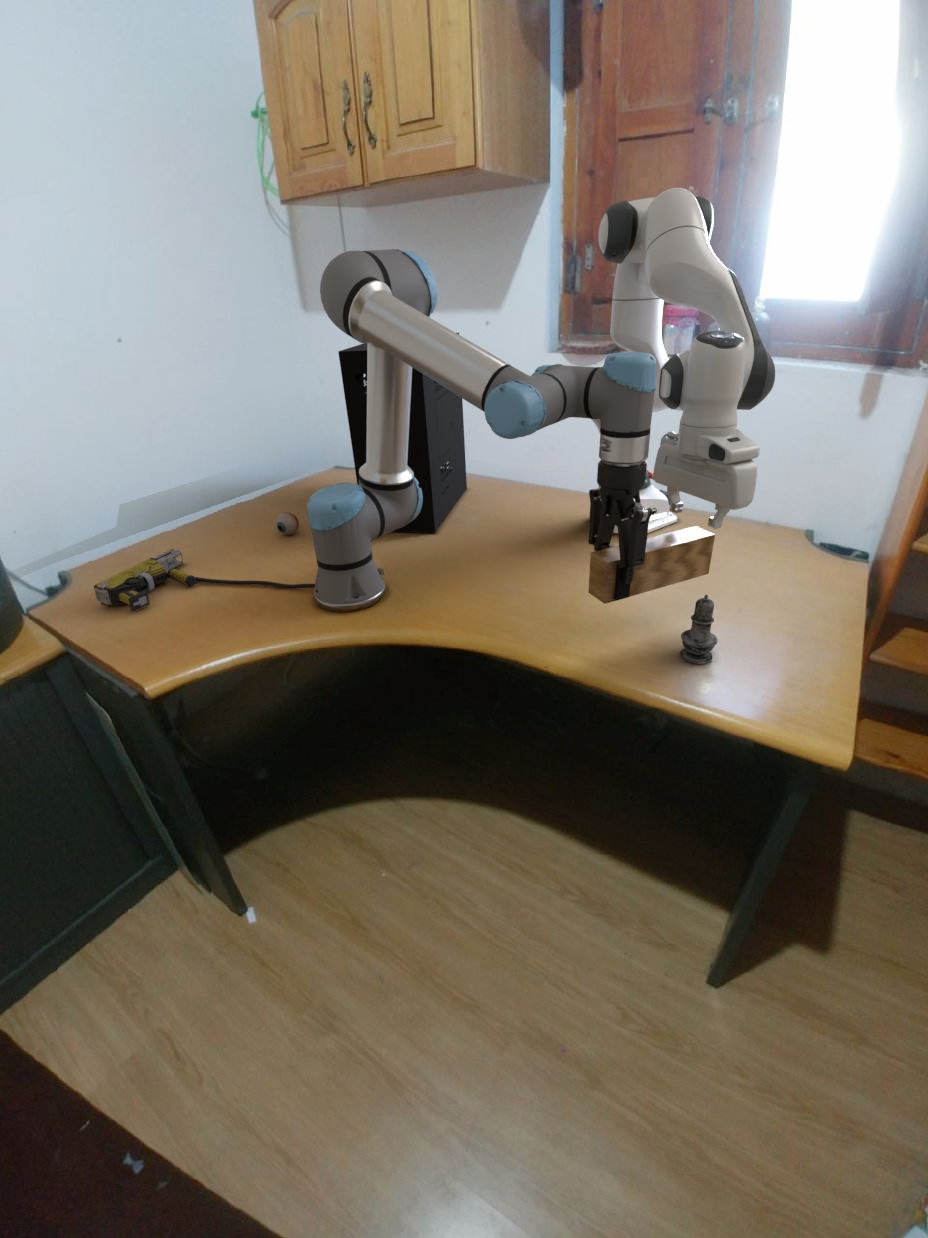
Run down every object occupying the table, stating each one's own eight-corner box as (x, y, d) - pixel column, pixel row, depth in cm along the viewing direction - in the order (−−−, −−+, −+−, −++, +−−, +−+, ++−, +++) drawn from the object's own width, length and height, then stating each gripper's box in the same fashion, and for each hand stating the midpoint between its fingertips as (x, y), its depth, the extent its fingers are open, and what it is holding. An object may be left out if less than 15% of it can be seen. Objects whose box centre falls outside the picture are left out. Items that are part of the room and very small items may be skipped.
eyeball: (273, 537, 164) (268, 516, 161) (287, 528, 169) (282, 508, 166) (291, 539, 161) (286, 518, 158) (305, 530, 166) (301, 510, 163)
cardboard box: (435, 533, 160) (420, 348, 138) (363, 530, 165) (338, 351, 142) (466, 488, 192) (459, 332, 169) (406, 486, 196) (390, 334, 174)
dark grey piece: (716, 666, 102) (728, 603, 96) (680, 663, 103) (689, 601, 97) (711, 647, 107) (722, 587, 101) (676, 645, 108) (685, 585, 102)
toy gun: (219, 557, 146) (169, 546, 150) (142, 598, 126) (87, 585, 129) (222, 574, 148) (172, 563, 152) (147, 618, 128) (92, 604, 132)
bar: (689, 564, 115) (695, 525, 111) (708, 573, 111) (715, 534, 108) (588, 592, 107) (590, 552, 104) (604, 604, 104) (607, 562, 100)
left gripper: (570, 451, 101) (565, 576, 112) (640, 478, 86) (626, 619, 98) (607, 444, 103) (599, 568, 115) (681, 469, 89) (663, 607, 101)
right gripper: (648, 431, 108) (641, 506, 114) (738, 455, 91) (724, 540, 98) (676, 427, 110) (668, 500, 116) (769, 449, 93) (753, 533, 100)
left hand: (611, 591), depth 106 cm, fingers closed on bar, 5 cm apart
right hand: (694, 519), depth 107 cm, fingers open, 8 cm apart
